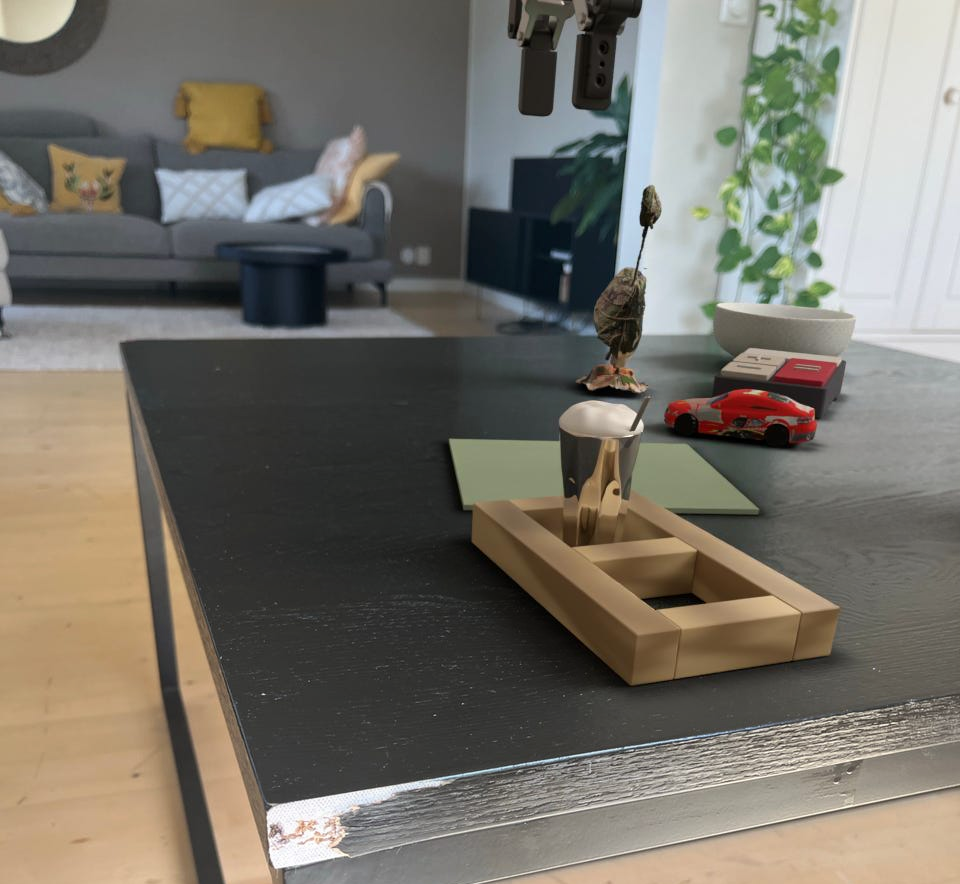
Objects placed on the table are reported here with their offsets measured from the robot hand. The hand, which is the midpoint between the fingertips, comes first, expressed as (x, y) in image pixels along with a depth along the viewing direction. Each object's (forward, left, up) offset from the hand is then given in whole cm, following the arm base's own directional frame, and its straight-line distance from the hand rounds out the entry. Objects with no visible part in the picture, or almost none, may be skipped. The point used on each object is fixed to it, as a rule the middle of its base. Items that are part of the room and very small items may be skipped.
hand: (560, 113), depth 61 cm
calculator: (-30, -33, -24) cm, 51 cm away
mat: (-4, -2, -24) cm, 24 cm away
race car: (-20, -16, -24) cm, 35 cm away
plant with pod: (-13, -37, -24) cm, 46 cm away
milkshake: (-1, +16, -24) cm, 29 cm away
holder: (-2, +21, -24) cm, 31 cm away
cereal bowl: (-37, -53, -24) cm, 69 cm away
